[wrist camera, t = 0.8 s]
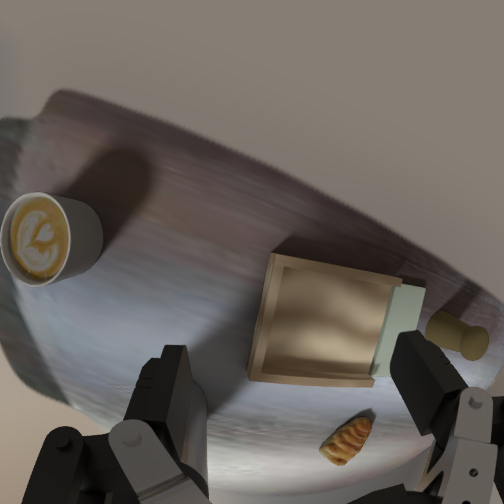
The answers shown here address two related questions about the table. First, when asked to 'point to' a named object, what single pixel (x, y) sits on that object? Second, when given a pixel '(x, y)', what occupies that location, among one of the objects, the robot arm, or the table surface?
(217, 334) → the table surface
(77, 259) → the coffee mug
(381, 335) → the panel
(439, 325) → the cork
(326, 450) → the pastry
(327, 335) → the tray
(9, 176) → the table surface
